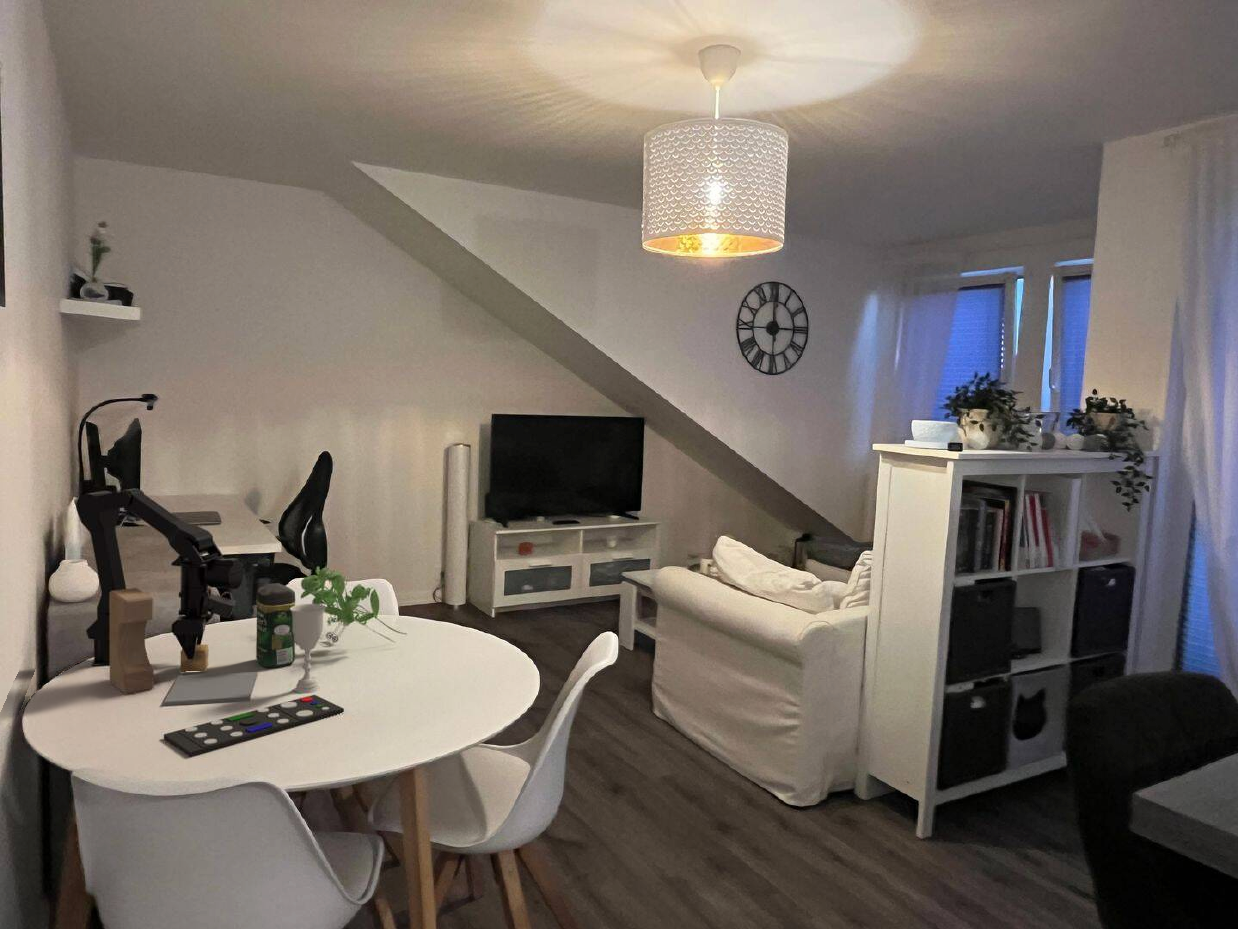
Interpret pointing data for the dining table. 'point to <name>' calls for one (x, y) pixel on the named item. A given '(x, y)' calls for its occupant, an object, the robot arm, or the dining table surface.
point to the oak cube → (195, 659)
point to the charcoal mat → (212, 688)
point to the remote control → (251, 725)
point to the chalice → (307, 639)
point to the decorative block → (130, 640)
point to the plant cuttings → (340, 599)
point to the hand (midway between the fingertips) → (194, 652)
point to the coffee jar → (275, 625)
